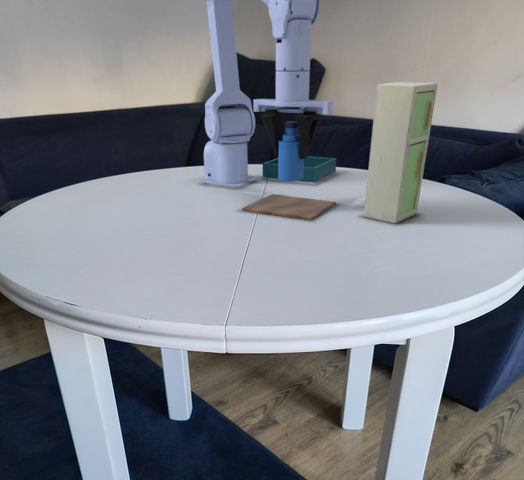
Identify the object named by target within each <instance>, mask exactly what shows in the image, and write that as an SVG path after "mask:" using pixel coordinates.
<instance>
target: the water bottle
mask: <svg viewBox="0 0 524 480" xmlns="http://www.w3.org/2000/svg"><path fill="white" fill-rule="evenodd" d="M277 158H278V179H277V180H280V181H282V182H283V181H284V182H299V181H298V180H302V179H303V161H304V159H299V128H298V121H295V120H294V121H293V120H288V121H285V126H284V135H282V140H279V146H278V157H277Z"/></svg>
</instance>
